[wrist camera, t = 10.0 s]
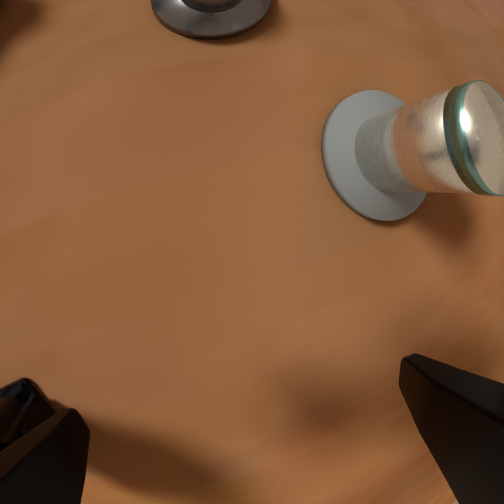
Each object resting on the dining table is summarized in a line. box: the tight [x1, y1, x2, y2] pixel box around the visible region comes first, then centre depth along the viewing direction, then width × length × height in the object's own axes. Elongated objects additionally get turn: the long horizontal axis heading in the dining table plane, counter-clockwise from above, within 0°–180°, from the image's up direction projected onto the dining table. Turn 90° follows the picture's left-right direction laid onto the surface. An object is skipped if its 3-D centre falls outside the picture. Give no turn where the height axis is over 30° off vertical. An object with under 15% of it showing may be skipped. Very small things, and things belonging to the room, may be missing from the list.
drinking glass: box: [354, 80, 504, 196], centre depth 14 cm, size 5×5×9 cm
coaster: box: [321, 90, 427, 221], centre depth 18 cm, size 9×9×1 cm
